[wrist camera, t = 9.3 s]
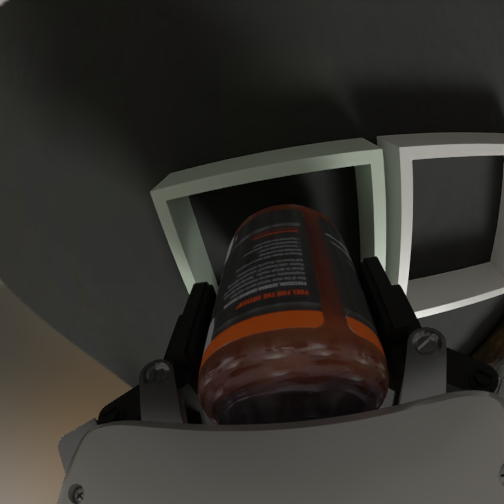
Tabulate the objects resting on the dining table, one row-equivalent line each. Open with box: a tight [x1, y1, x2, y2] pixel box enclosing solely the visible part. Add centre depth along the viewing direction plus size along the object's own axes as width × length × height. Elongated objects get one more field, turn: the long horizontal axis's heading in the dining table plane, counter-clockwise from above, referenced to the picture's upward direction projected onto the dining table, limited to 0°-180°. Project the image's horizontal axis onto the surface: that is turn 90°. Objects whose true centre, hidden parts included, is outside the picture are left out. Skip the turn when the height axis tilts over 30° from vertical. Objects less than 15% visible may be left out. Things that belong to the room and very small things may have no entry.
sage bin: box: [150, 138, 386, 295], centre depth 15 cm, size 10×10×3 cm
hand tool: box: [471, 320, 504, 371], centre depth 21 cm, size 19×4×5 cm, turn 157°
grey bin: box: [376, 132, 504, 318], centre depth 14 cm, size 10×10×3 cm
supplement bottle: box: [197, 204, 389, 425], centre depth 10 cm, size 6×6×11 cm
